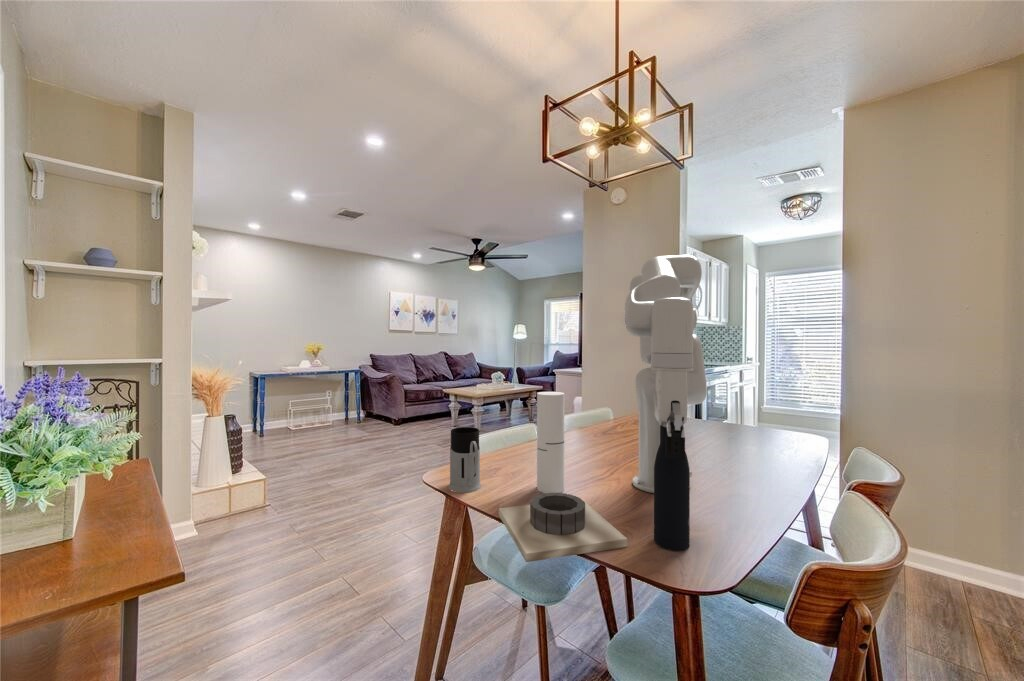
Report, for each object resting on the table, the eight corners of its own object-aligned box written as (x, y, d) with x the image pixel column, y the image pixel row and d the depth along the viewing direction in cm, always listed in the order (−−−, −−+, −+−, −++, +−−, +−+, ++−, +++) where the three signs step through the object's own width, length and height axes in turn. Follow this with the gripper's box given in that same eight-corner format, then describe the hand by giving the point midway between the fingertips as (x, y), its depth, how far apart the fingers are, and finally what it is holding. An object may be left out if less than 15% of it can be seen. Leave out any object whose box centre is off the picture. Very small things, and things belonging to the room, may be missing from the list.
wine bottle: (648, 535, 82) (648, 385, 82) (679, 534, 82) (679, 384, 82) (662, 552, 75) (663, 389, 75) (696, 550, 76) (696, 388, 76)
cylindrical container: (563, 494, 103) (563, 395, 103) (535, 492, 104) (535, 394, 104) (565, 484, 110) (565, 391, 110) (539, 483, 111) (539, 391, 111)
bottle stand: (581, 505, 96) (581, 481, 96) (627, 546, 77) (627, 517, 77) (498, 515, 91) (498, 490, 91) (526, 562, 72) (526, 530, 72)
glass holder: (475, 479, 114) (475, 425, 114) (493, 497, 101) (493, 436, 101) (444, 483, 111) (444, 428, 111) (459, 502, 98) (459, 440, 98)
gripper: (647, 360, 88) (647, 440, 88) (655, 364, 71) (655, 463, 71) (685, 360, 86) (685, 442, 86) (702, 365, 69) (702, 466, 69)
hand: (671, 451), depth 79 cm, fingers open, 9 cm apart
